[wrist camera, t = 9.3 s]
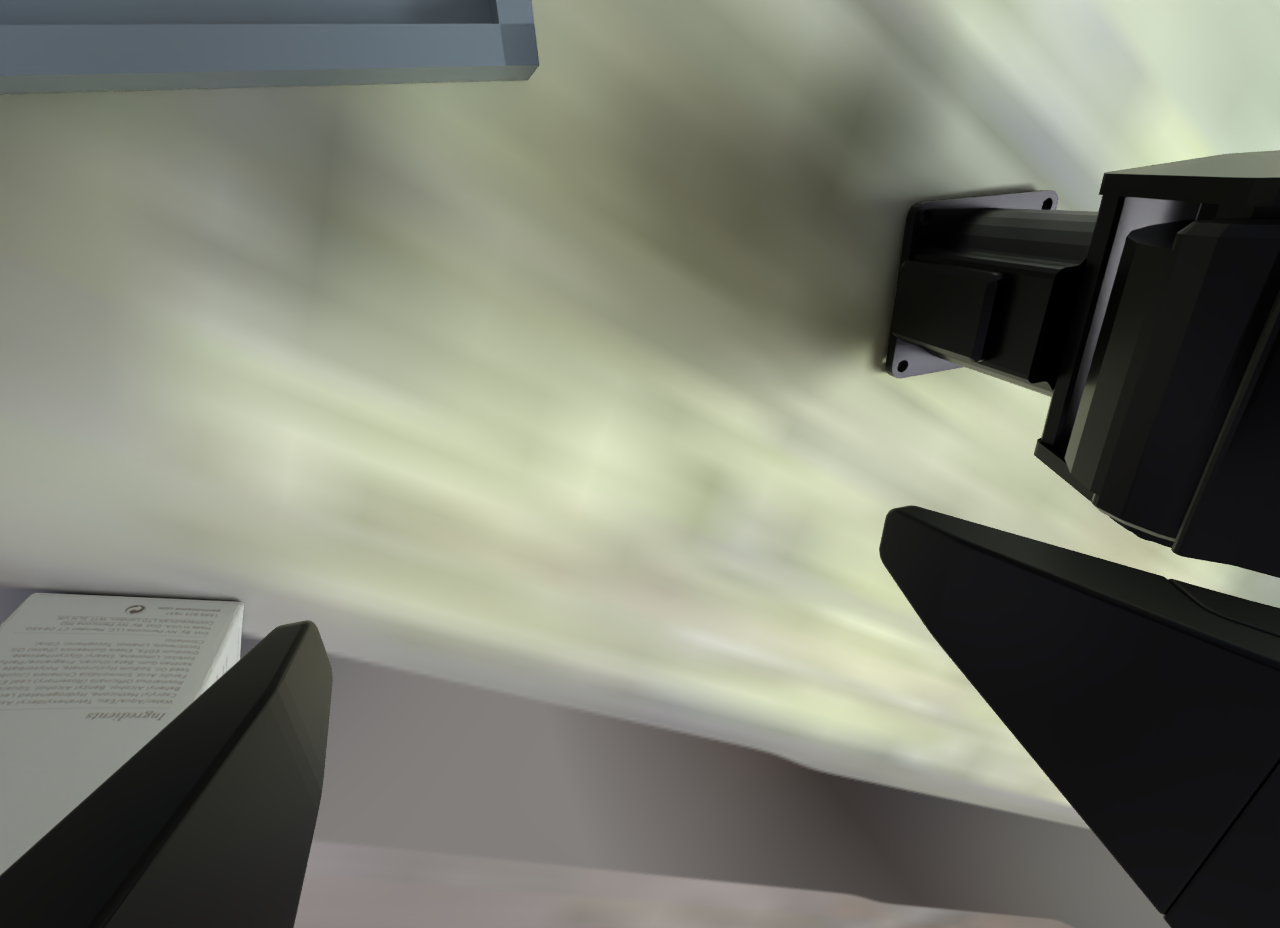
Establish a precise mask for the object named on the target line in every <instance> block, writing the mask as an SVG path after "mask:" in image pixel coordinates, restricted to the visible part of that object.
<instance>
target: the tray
mask: <svg viewBox="0 0 1280 928" xmlns="http://www.w3.org/2000/svg"><path fill="white" fill-rule="evenodd" d="M538 66H539V60H538V52H537V43H536V35H535V26H534V18H533V10H532V1H531V0H0V94H20V93H58V92H96V91H134V90H172V89H210V88H248V87H286V86H324V85H362V84H400V83H438V82H476V81H514V80H528V79H529V78H530V76H531V75H532V74H533V72H534V71H535V70H536V69H537V67H538Z"/></svg>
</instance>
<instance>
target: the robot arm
mask: <svg viewBox="0 0 1280 928" xmlns="http://www.w3.org/2000/svg"><path fill="white" fill-rule="evenodd" d="M1099 194H1100V195H1103V196H1102V200H1101V204H1100V208H1099V212H1089V211H1062V210H1056V208H1057V204H1058V196H1057V193H1056V192H1055V191H1051V190H1040V191H1029V192H1018V193H1007V194H996V195H986V196H975V197H964V198H953V199H942V200H931V201H921V202H918V203H916V204H914V205H913V206H912V207H911V209H910V210H909V212H908V215H907V219H906V226H905V233H904V240H903V247H902V254H901V261H900V268H899V275H898V282H897V289H896V296H895V303H894V310H893V317H892V324H891V331H890V338H889V345H888V352H887V359H886V371H887V373H888V374H889V375H891V376H893V377H896V378H905V377H911V376H916V375H922V374H927V373H933V372H939V371H944V370H950V369H955V368H961V367H966V368H969V369H972V370H975V371H978V372H981V373H984V374H987V375H990V376H992V377H995V378H998V379H1001V380H1004V381H1007V382H1010V383H1013V384H1016V385H1018V386H1021V387H1024V388H1027V389H1030V390H1033V391H1036V392H1039V393H1041V394H1044V395H1047V396H1050V397H1052V398H1051V402H1050V406H1049V410H1048V414H1047V418H1046V422H1045V426H1044V430H1043V433H1042V437H1041V438H1040V439H1038V440H1037V444H1036V448H1035V452H1034V455H1035V456H1036V457H1037V458H1038V459H1040V460H1041V461H1042V462H1043V463H1044V464H1046V465H1047V466H1048V467H1049V468H1050V469H1052V470H1053V471H1054V472H1055V473H1057V474H1058V475H1059V476H1060V477H1061V478H1063V479H1064V480H1065V481H1066V482H1068V483H1069V484H1070V485H1071V486H1072V487H1074V488H1075V489H1076V490H1077V491H1079V492H1080V493H1081V494H1082V495H1083V496H1085V497H1086V498H1087V499H1088V500H1090V501H1091V502H1092V504H1093V505H1094V506H1095V507H1096V508H1097V509H1098V510H1099V511H1101V512H1102V513H1104V514H1106V515H1108V516H1109V517H1110V518H1111V519H1113V520H1114V521H1115V522H1117V523H1118V524H1120V525H1121V526H1123V527H1124V528H1126V529H1127V530H1129V531H1131V532H1133V533H1134V534H1135V535H1136V536H1138V537H1140V538H1142V539H1145V540H1148V541H1153V542H1156V543H1158V544H1161V545H1164V546H1167V547H1170V548H1172V549H1171V550H1172V551H1173V552H1174V553H1175V554H1177V555H1180V556H1183V557H1188V558H1194V559H1200V560H1206V561H1211V562H1217V563H1223V564H1229V565H1234V566H1238V567H1241V568H1245V569H1249V570H1252V571H1256V572H1260V573H1264V574H1267V575H1271V576H1275V577H1278V578H1280V150H1279V151H1264V152H1248V153H1233V154H1223V155H1216V156H1210V157H1203V158H1197V159H1190V160H1184V161H1177V162H1171V163H1164V164H1158V165H1151V166H1145V167H1138V168H1132V169H1125V170H1119V171H1112V172H1106V173H1104V176H1103V180H1102V184H1101V188H1100V192H1099ZM1042 204H1043V205H1042ZM923 212H924V218H923V221H922V222H921V221H920V217H921V214H922V213H923ZM900 362H901V365H900V367H899V368H898V369H897V367H898V364H899V363H900ZM879 552H880V558H881V560H882V562H883V564H884V566H885V567H886V569H887V570H888V572H889V573H890V574H891V576H892V577H893V579H894V580H895V582H896V583H897V585H898V586H899V588H900V589H901V591H902V592H903V594H904V595H905V597H906V598H907V600H908V601H909V603H910V604H911V606H912V607H913V608H914V610H915V611H916V613H917V614H918V616H919V617H920V619H921V620H922V622H923V623H924V625H925V626H926V627H927V629H928V630H929V632H930V633H931V634H932V636H933V637H934V638H935V640H936V641H937V642H938V643H939V645H940V646H941V647H942V648H943V650H944V651H945V652H946V653H947V654H948V656H949V657H950V658H951V659H952V661H953V662H954V663H955V664H956V665H957V667H958V668H959V669H960V670H961V672H962V673H963V674H964V675H965V676H966V678H967V679H968V680H969V681H970V682H971V684H972V685H973V686H974V687H975V689H976V690H977V691H978V692H979V693H980V695H981V696H982V697H983V698H984V700H985V701H986V702H987V703H988V704H989V706H990V707H991V708H992V709H993V711H994V712H995V713H996V714H997V715H998V717H999V718H1000V719H1001V720H1002V721H1003V723H1004V724H1005V725H1006V726H1007V728H1008V729H1009V730H1010V731H1011V732H1012V734H1013V735H1014V736H1015V737H1016V739H1017V740H1018V741H1019V742H1020V743H1021V745H1022V746H1023V747H1024V748H1025V749H1026V751H1027V752H1028V753H1029V754H1030V756H1031V757H1032V758H1033V759H1034V760H1035V762H1036V763H1037V764H1038V765H1039V767H1040V768H1041V769H1042V770H1043V771H1044V773H1045V774H1046V775H1047V776H1048V777H1049V779H1050V780H1051V781H1052V782H1053V784H1054V785H1055V786H1056V787H1057V788H1058V790H1059V791H1060V792H1061V793H1062V795H1063V796H1064V797H1065V798H1066V799H1067V801H1068V802H1069V803H1070V804H1071V806H1072V807H1073V808H1074V809H1075V810H1076V812H1077V813H1078V814H1079V815H1080V816H1081V818H1082V819H1083V820H1084V821H1085V823H1086V824H1087V825H1088V826H1089V827H1090V829H1091V830H1092V831H1093V832H1094V834H1096V836H1097V837H1098V838H1099V840H1100V841H1101V842H1102V843H1103V844H1104V846H1105V847H1106V848H1107V849H1108V851H1109V852H1110V853H1111V854H1112V855H1113V857H1114V858H1115V859H1116V860H1117V861H1118V863H1119V864H1120V865H1121V866H1122V868H1123V869H1124V870H1125V871H1126V872H1127V874H1128V875H1129V876H1130V877H1131V879H1132V880H1133V881H1134V882H1135V883H1136V885H1137V886H1138V887H1139V888H1140V890H1141V891H1142V892H1143V893H1144V894H1145V896H1146V897H1147V898H1148V899H1149V901H1151V903H1152V904H1153V905H1154V907H1156V909H1157V910H1158V911H1159V912H1160V913H1161V914H1163V915H1164V919H1165V921H1166V922H1167V923H1168V924H1169V926H1170V927H1171V928H1280V608H1276V607H1273V606H1269V605H1265V604H1261V603H1257V602H1253V601H1249V600H1246V599H1242V598H1239V597H1235V596H1231V595H1228V594H1224V593H1220V592H1217V591H1213V590H1209V589H1206V588H1202V587H1199V586H1195V585H1192V584H1188V583H1185V582H1181V581H1178V580H1174V579H1168V580H1167V579H1166V578H1165V577H1163V576H1160V575H1156V574H1153V573H1149V572H1146V571H1142V570H1139V569H1135V568H1132V567H1128V566H1125V565H1121V564H1118V563H1114V562H1110V561H1107V560H1103V559H1100V558H1096V557H1093V556H1089V555H1086V554H1082V553H1079V552H1075V551H1072V550H1068V549H1065V548H1061V547H1058V546H1054V545H1051V544H1047V543H1044V542H1040V541H1037V540H1033V539H1030V538H1026V537H1023V536H1019V535H1016V534H1012V533H1009V532H1005V531H1002V530H998V529H995V528H991V527H988V526H984V525H981V524H977V523H974V522H970V521H967V520H963V519H960V518H956V517H953V516H949V515H945V514H942V513H938V512H935V511H931V510H928V509H924V508H921V507H917V506H905V507H899V508H894V509H892V510H890V511H889V512H888V514H887V515H886V519H885V524H884V528H883V533H882V538H881V543H880V548H879ZM332 681H333V679H332V668H331V664H330V661H329V658H328V655H327V653H326V650H325V647H324V644H323V642H322V639H321V636H320V633H319V630H318V628H317V626H316V625H315V624H314V622H312V621H309V620H306V621H301V622H296V623H290V624H285V625H281V626H278V627H276V628H275V629H274V630H272V631H271V632H270V633H269V634H268V635H267V636H266V637H265V638H264V639H262V640H261V641H260V642H259V643H258V644H257V645H256V646H255V647H254V648H252V649H251V650H250V651H249V652H248V653H247V654H246V655H245V656H243V657H242V658H241V659H240V660H239V661H238V662H237V663H236V664H235V665H233V666H232V667H231V668H230V669H229V670H228V671H227V672H226V673H225V674H223V675H222V676H221V677H220V678H219V679H218V680H217V681H216V682H215V683H213V684H212V685H211V686H210V687H209V688H208V689H207V690H206V691H205V692H203V693H202V694H201V695H200V696H199V697H198V698H197V699H196V700H195V701H193V702H192V703H191V704H190V705H189V706H188V707H187V708H186V709H185V710H183V711H182V712H181V713H180V714H179V715H178V716H177V717H176V718H175V719H173V720H172V721H171V722H170V723H169V724H168V725H167V726H166V727H165V728H163V729H162V730H161V731H160V732H159V733H158V734H157V735H156V736H155V737H153V738H152V739H151V740H150V741H149V742H148V743H147V744H146V745H145V746H143V747H142V748H141V749H140V750H139V751H138V752H137V753H136V754H135V755H133V756H132V757H131V758H130V759H129V760H128V761H127V762H126V763H125V764H123V765H122V766H121V767H120V768H119V769H118V770H117V771H116V772H115V773H113V774H112V775H111V776H110V777H109V778H108V779H107V780H106V781H105V782H103V783H102V784H101V785H100V786H99V787H98V788H97V789H96V790H94V791H93V792H92V793H91V794H90V795H89V796H88V797H87V798H86V799H84V800H83V801H82V802H81V803H80V804H79V805H78V806H77V807H76V808H74V809H73V810H72V811H71V812H70V813H69V814H68V815H67V816H66V817H64V818H63V819H62V820H61V821H60V822H59V823H58V824H57V825H56V826H54V827H53V828H52V829H51V830H50V831H49V832H48V833H47V834H46V835H44V836H43V837H42V838H41V839H40V840H39V841H38V842H37V843H36V844H34V845H33V846H32V847H31V848H30V849H29V850H28V851H27V852H26V853H24V854H23V855H22V856H21V857H20V858H19V859H18V860H17V861H15V862H14V863H13V864H12V865H11V866H10V867H9V868H8V869H7V870H5V871H4V872H3V873H2V874H1V875H0V928H294V923H295V918H296V914H297V909H298V904H299V900H300V895H301V890H302V886H303V881H304V876H305V872H306V867H307V862H308V858H309V853H310V848H311V844H312V839H313V834H314V829H315V825H316V819H317V815H318V810H319V805H320V800H321V794H322V787H323V778H324V768H325V758H326V747H327V736H328V724H329V715H330V704H331V693H332Z"/></svg>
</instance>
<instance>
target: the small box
mask: <svg viewBox="0 0 1280 928" xmlns="http://www.w3.org/2000/svg"><path fill="white" fill-rule="evenodd" d="M243 610H244V605H243V603H242V602H234V601H211V600H190V599H169V598H143V597H122V596H100V595H77V594H54V593H33V594H31V595H30V596H29V597H28V598H27V599H26V600H24V601H23V602H22V604H21V605H20V606H19V607H18V608H17V609H16V610H15V611H14V612H13V613H12V614H11V615H10V616H9V617H8V618H7V619H6V620H5V621H4V622H3V623H2V624H1V625H0V875H1V874H2V873H3V872H4V871H5V870H7V869H8V868H9V867H10V866H11V865H12V864H13V863H14V862H15V861H17V860H18V859H19V858H20V857H21V856H22V855H23V854H24V853H26V852H27V851H28V850H29V849H30V848H31V847H32V846H33V845H34V844H36V843H37V842H38V841H39V840H40V839H41V838H42V837H43V836H44V835H46V834H47V833H48V832H49V831H50V830H51V829H52V828H53V827H54V826H56V825H57V824H58V823H59V822H60V821H61V820H62V819H63V818H64V817H66V816H67V815H68V814H69V813H70V812H71V811H72V810H73V809H74V808H76V807H77V806H78V805H79V804H80V803H81V802H82V801H83V800H84V799H86V798H87V797H88V796H89V795H90V794H91V793H92V792H93V791H94V790H96V789H97V788H98V787H99V786H100V785H101V784H102V783H103V782H105V781H106V780H107V779H108V778H109V777H110V776H111V775H112V774H113V773H115V772H116V771H117V770H118V769H119V768H120V767H121V766H122V765H123V764H125V763H126V762H127V761H128V760H129V759H130V758H131V757H132V756H133V755H135V754H136V753H137V752H138V751H139V750H140V749H141V748H142V747H143V746H145V745H146V744H147V743H148V742H149V741H150V740H151V739H152V738H153V737H155V736H156V735H157V734H158V733H159V732H160V731H161V730H162V729H163V728H165V727H166V726H167V725H168V724H169V723H170V722H171V721H172V720H173V719H175V718H176V717H177V716H178V715H179V714H180V713H181V712H182V711H183V710H185V709H186V708H187V707H188V706H189V705H190V704H191V703H192V702H193V701H195V700H196V699H197V698H198V697H199V696H200V695H201V694H202V693H203V692H205V691H206V690H207V689H208V688H209V687H210V686H211V685H212V684H213V683H215V682H216V681H217V680H218V679H219V678H220V677H221V676H222V675H223V674H225V673H226V672H227V671H228V670H229V669H230V668H231V667H232V666H233V665H235V664H236V663H237V662H238V661H239V660H240V646H241V633H242V619H243Z"/></svg>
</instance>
